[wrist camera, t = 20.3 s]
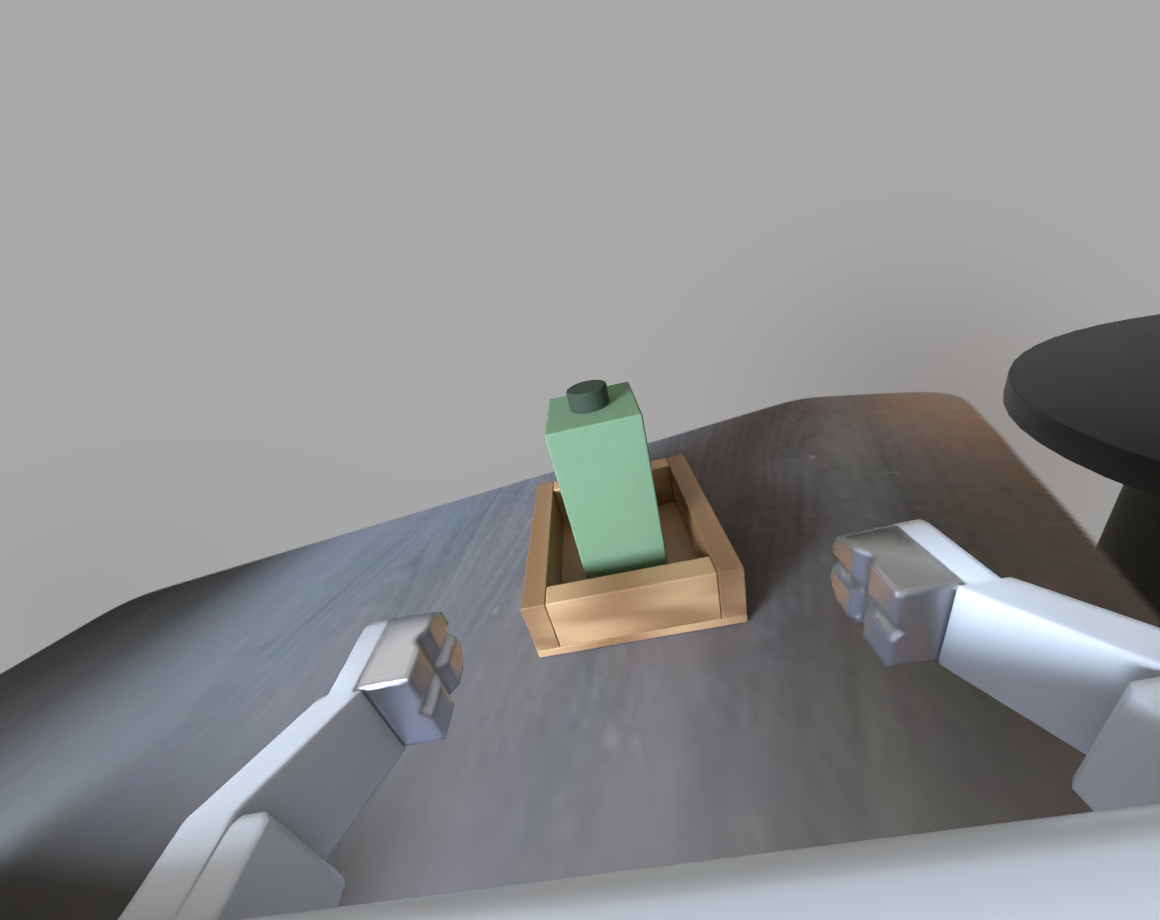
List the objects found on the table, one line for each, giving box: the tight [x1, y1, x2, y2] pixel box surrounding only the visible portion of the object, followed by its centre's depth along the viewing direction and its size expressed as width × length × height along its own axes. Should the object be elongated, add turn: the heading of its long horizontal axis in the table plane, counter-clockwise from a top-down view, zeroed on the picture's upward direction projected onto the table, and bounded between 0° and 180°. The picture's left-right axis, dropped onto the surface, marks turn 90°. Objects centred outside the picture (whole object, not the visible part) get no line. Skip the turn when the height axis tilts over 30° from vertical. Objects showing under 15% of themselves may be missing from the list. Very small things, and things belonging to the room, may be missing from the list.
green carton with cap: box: [545, 380, 668, 579], centre depth 23 cm, size 4×5×11 cm
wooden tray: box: [520, 454, 747, 657], centre depth 25 cm, size 10×11×4 cm
